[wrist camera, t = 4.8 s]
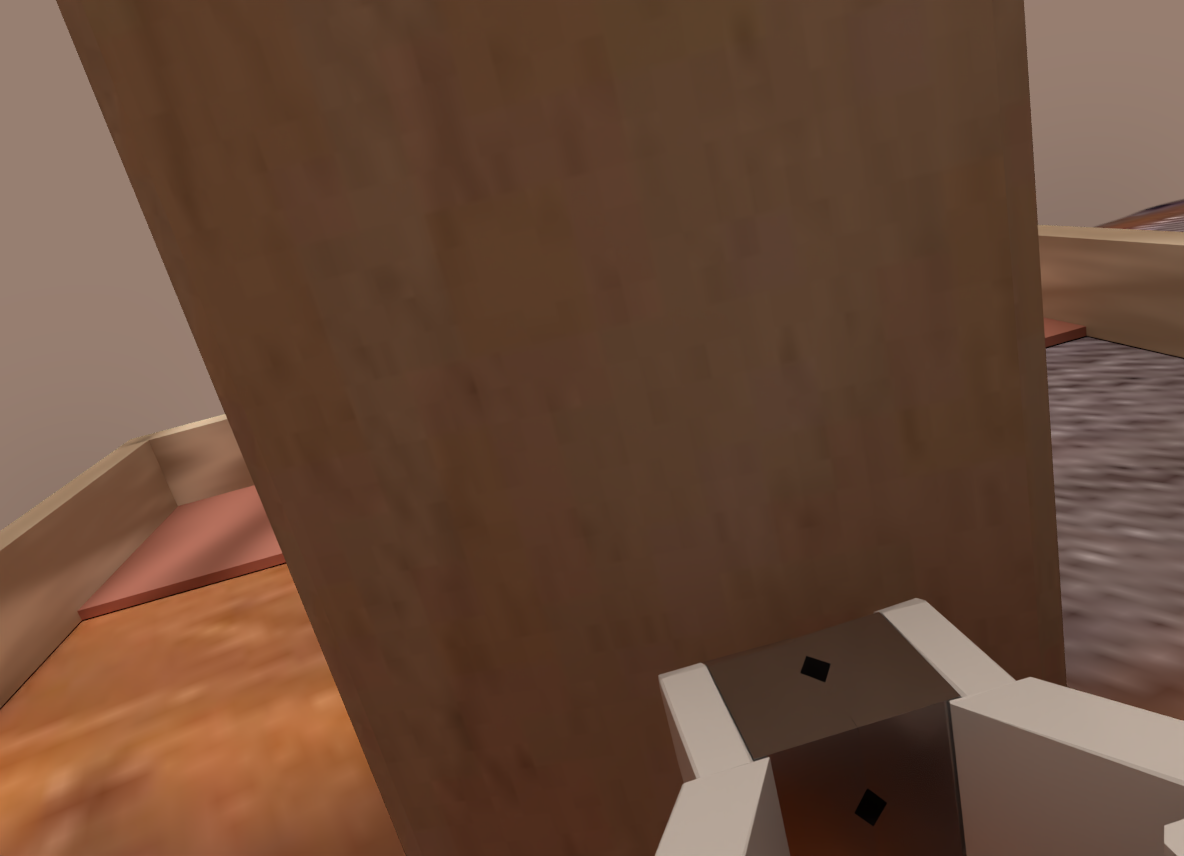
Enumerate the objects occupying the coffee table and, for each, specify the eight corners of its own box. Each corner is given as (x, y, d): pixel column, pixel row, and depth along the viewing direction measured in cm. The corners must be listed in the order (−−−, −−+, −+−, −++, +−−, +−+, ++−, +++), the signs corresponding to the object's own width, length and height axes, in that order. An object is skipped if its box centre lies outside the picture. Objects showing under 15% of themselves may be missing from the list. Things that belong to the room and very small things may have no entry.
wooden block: (893, 553, 21) (763, -396, 14) (1095, 891, 11) (969, -1412, 5) (528, 616, 22) (270, -222, 16) (435, 961, 13) (-283, -759, 7)
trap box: (-197, 870, 19) (-294, 737, 18) (162, 510, 41) (130, 439, 40) (1429, 388, 22) (1442, 244, 21) (951, 292, 44) (944, 220, 42)
